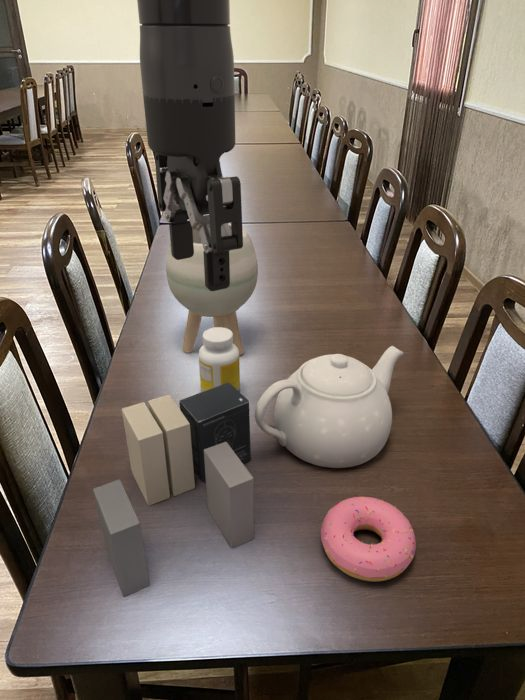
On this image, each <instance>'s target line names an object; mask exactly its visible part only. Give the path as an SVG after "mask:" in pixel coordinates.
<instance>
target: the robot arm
mask: <svg viewBox="0 0 525 700" xmlns="http://www.w3.org/2000/svg"><path fill="white" fill-rule="evenodd" d="M136 2H137V13H138V14H137V15H138V24H140V25H139V66H140V67H139V68H140V76H141V77H140V78H141V86H142V87H141V88H142V98H143V108H144V119H145V129H146V138H147V139H146V140H147V146H148V148H149V149H150V151H152V152H153V153H154V154H153V155H154V157H153V158H154V165H155V179H156V193H157V207H158V209H159V211H160V212H164V218H165V221H166V222H167V223H168V228H169V230H168V231H169V241H170V242H171V253H172V256H173V257H174V258H175V259H176V260H181V259H186V258H191V257H192V256H193V255H194V246H193V230H192V228H193V229H195V230H197V231H198V232H199V235H200V238H201V241H202V245H203V248H204V251H203V254H204V273H205V286H206V288H208V289H209V290H210V291H217V290H221V289H226V288H228V287H229V285H230V262H229V251H230V250H235V249H241V248H242V247H243V230H242V228H243V209H242V208H243V207H242V185H241V184H242V183H241V180H240V178H239V176H225V177H224V176H223V172H222V167H221V162H220V159H221V157H222V156H223V154H225V153H227V154H228V153H229V152H231V151H232V150H234V148H235V146H236V106H235V105H236V100H235V95H236V94H235V59H234V56H235V55H234V49H233V42H232V35H231V34H232V33H231V26H230V24H231V12H230V11H231V10H230V9H231V8H230V7H231V6H230V0H136ZM228 223H231V231H232V235H231V231H230V228H229V225H228ZM208 227H210V233H209V230H208ZM210 235H211V236H210Z"/></svg>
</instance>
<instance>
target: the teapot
mask: <svg viewBox="0 0 525 700" xmlns="http://www.w3.org/2000/svg"><path fill="white" fill-rule="evenodd" d="M404 354H405V353H404V352H403V351H402V350H400V349H399V348H397V347H396V346H394V345H391V346H389V347H388V348H387V349H386V350H385V351H384V352H383V354H382V355H381V356H380V358H379V359H378V361H377V363H376V364H375V365H374V366H373V368H372V369H371V368H370V367H369V366H368V365H366V364H365V363H363V362H362V361H360V360H358V359H356V358H354V357H352V356H348V355H344V353H343V354H342V353H333V354H325V355H320V356H317V357H313V358H311V359H309V360H307V361H305V362H304V363H302V364H301V365H300V367H299V368H298V369H296V370H295V371H294V372H293V373H292V374H291V375H289V376H288V378H286V379H281V380H278V381H276V382H274V383H272V384H271V385H270V386H269V387H267V389H265V391H264V392H263V393H262V394H261V397H260V398H259V400H258V402H257V404H256V407H255V411H254V420H255V422H256V424H257V426H258V427H259V428H260V430H261V431H263V432H264V433H266V434H267V435H269V436H272V437H274V438H276V439H277V442H278V444H279V445H280V446H281V447H285V448H286V450H288V451H289V452H290V453H291V454H292V455H293V456H296V457H297V458H298V459H300V460H302V461H304V462H306V463H309V464H311V465H315V466H318V467H322V468H329V469H330V468H331V469H346V468H351V467H356V466H359V465H362V464H364V463H366V462H368V461H370V460H372V459H373V458H374V457H376V456H377V455H378V454H379V453H380V452H381V451H382V449H383V448H384V447H385V445H386V443H387V442H388V439H389V436H390V434H391V429H392V426H393V425H392V424H393V409H392V403H391V400H390V397H389V391H390V387H391V382H392V377H393V372H394V369H395V365H396V363H397V361H398V360H399V359H400V358H402V356H404ZM276 396H277V397H276ZM275 397H276V401H275V406H274V412H273V413H274V414H273V415H274V416H273V417H274V418H273V419H274V425H275V426H274V427H272V426H270V425H268V424H267V423H266V422H265V419H264V417H265V413H266V410H267V408H268V406H269V404H270V403H271V402H272V400H273V399H274V398H275Z"/></svg>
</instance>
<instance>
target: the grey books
mask: <svg viewBox="0 0 525 700" xmlns="http://www.w3.org/2000/svg"><path fill="white" fill-rule="evenodd" d="M204 461H205V476H206V481H205V489H206V490H205V491H206V505H207V510H208V512H209V514H210V515H211V517H212V519H213V520H214V522H215V524H216V525H217V527H218V528H219V530H220V531H221V534H222V535H223V536H224V538H225V540H226V542H227V543H228V545H229V547H230V549H234V548H236V547H238V546H240V545H243V544H245V543H248V542H250V541H252V540H254V539H255V508H254V507H255V498H254V497H255V496H254V495H255V493H254V492H255V491H254V489H255V488H254V486H255V485H254V483H255V482H254V481H255V479H254V477H253V475H252V474H251V473H250V472H249V470H248V468H247V467H246V466H245V464H244V463H242V462H241V461H240V459H239V458H238V457H237V455H236V454H235V453H234V451H233V450H232V449H231V447H230V446H229V444H228V443H227V442H224V443H221V444H218V445H215V446H212V447H210V448H207V449H204ZM92 493H93V496H94V501H95V505H96V510H97V515H98V518H99V523H100V528H101V533H102V537H103V541H104V546H105V550H106V554H107V556H108V559H109V562H110V564H111V567H112V569H113V573H114V575H115V578H116V581H117V583H118V587H119V589H120V591H121V594H122V596H123V597H127V596H128V595H131V594H133V593H135V592H138V591H140V590H142V589H144V588H146V587H148V586H150V585H151V583H150V577H149V571H148V570H149V569H148V564H147V559H146V552H145V547H144V539H143V533H142V528H141V523H140V521H139V518H138V516H137V513H136V511H135V509H134V507H133V505H132V502H131V500H130V498H129V496H128V494H127V491H126V490H125V486H124V484H123V482H122V480H121V479H116V480H114V481H111V482H108V483H105V484H102V485H100V486H96V487H93V488H92Z"/></svg>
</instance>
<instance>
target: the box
mask: <svg viewBox="0 0 525 700" xmlns="http://www.w3.org/2000/svg"><path fill="white" fill-rule="evenodd" d="M178 403H179V409H180V410H181V412H182V413H183V415H184V416H185V418H186V419H187V420H188V422H189V423H190V433H191V445H192V457H193V470H194V473H196V475H197V476H198V477H199V479H200V480H201V481H202V482H206V476H205V461H204V449H207V448H210V447H212V446H215V445H218V444H221V443H224V442H227V443H228V444H229V446H230V447H231V449H232V450H233V451H234V453H235V454H236V455H237V457H238V458H239V459H240V461H241V462H242V463H243V464H245V463H248V462H250V461H251V460H252V458H251V456H252V455H251V451H252V449H251V420H250V419H251V417H250V416H251V415H250V400H249V399H248V398H247V397H246V396H245V395H243V394H242V393H241V391H240V392H239V391H238V390H237V389H236V388H235V387H234V386H233V385H231V384H230V383H229V382H228V383H225V384H223V385H220V386H217V387H215V388H212V389H209V390H207V391H204V392H201V391H200V392H199V393H196V394H194V395H191V396H188V397H185V398H182V399H180V400H178Z"/></svg>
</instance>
